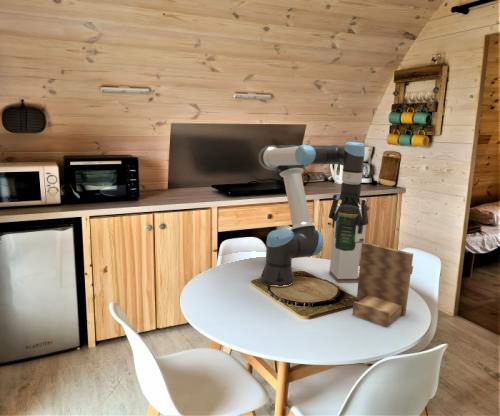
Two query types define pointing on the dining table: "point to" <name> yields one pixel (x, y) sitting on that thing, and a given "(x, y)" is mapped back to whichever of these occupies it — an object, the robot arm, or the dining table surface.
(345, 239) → the coffee jar
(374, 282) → the wooden stand
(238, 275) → the dining table surface
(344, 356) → the dining table surface
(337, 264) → the grey seamed pillar
